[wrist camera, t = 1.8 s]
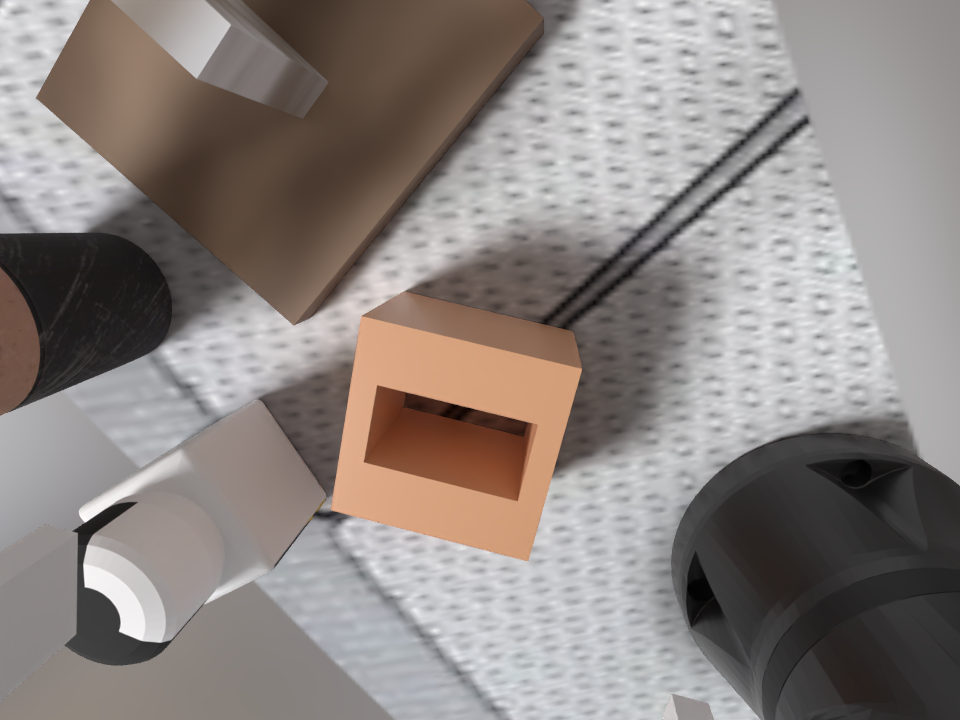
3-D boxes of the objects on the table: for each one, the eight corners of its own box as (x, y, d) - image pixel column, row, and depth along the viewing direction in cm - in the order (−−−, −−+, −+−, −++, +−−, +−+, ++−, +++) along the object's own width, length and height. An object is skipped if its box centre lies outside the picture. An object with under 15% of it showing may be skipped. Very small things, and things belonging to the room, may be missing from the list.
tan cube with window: (573, 331, 28) (582, 368, 22) (531, 485, 31) (528, 561, 24) (404, 291, 29) (361, 315, 22) (376, 445, 31) (330, 509, 25)
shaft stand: (543, 33, 25) (542, -78, 15) (310, 317, 30) (198, 369, 20) (270, -242, 23) (80, -554, 14) (70, 105, 28) (-174, 51, 19)
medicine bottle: (239, 544, 34) (84, 713, 23) (169, 449, 33) (-32, 577, 22) (331, 496, 33) (213, 652, 21) (261, 395, 31) (96, 502, 20)
